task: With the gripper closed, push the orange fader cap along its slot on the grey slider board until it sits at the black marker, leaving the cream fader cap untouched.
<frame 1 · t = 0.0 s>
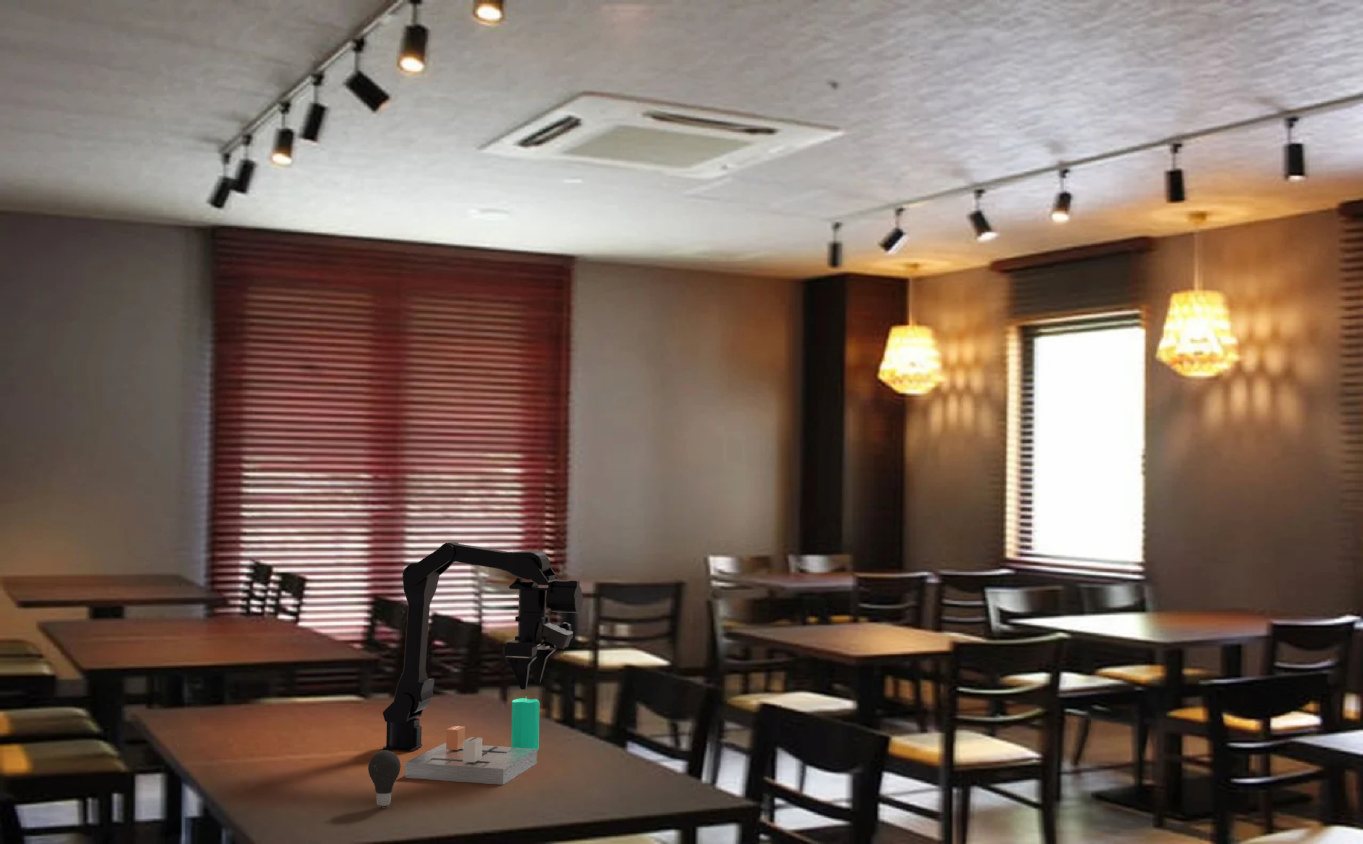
hand: (530, 686, 295), 15 cm above the table, fingers open, 9 cm apart
grey slider board: (472, 770, 280), on the table
candle: (524, 750, 302), on the table
light bulb: (383, 808, 249), on the table
fader orange: (455, 744, 286), point 4 cm above the table, slide at 0.0 cm
fader cream: (472, 756, 275), point 4 cm above the table, slide at 0.0 cm
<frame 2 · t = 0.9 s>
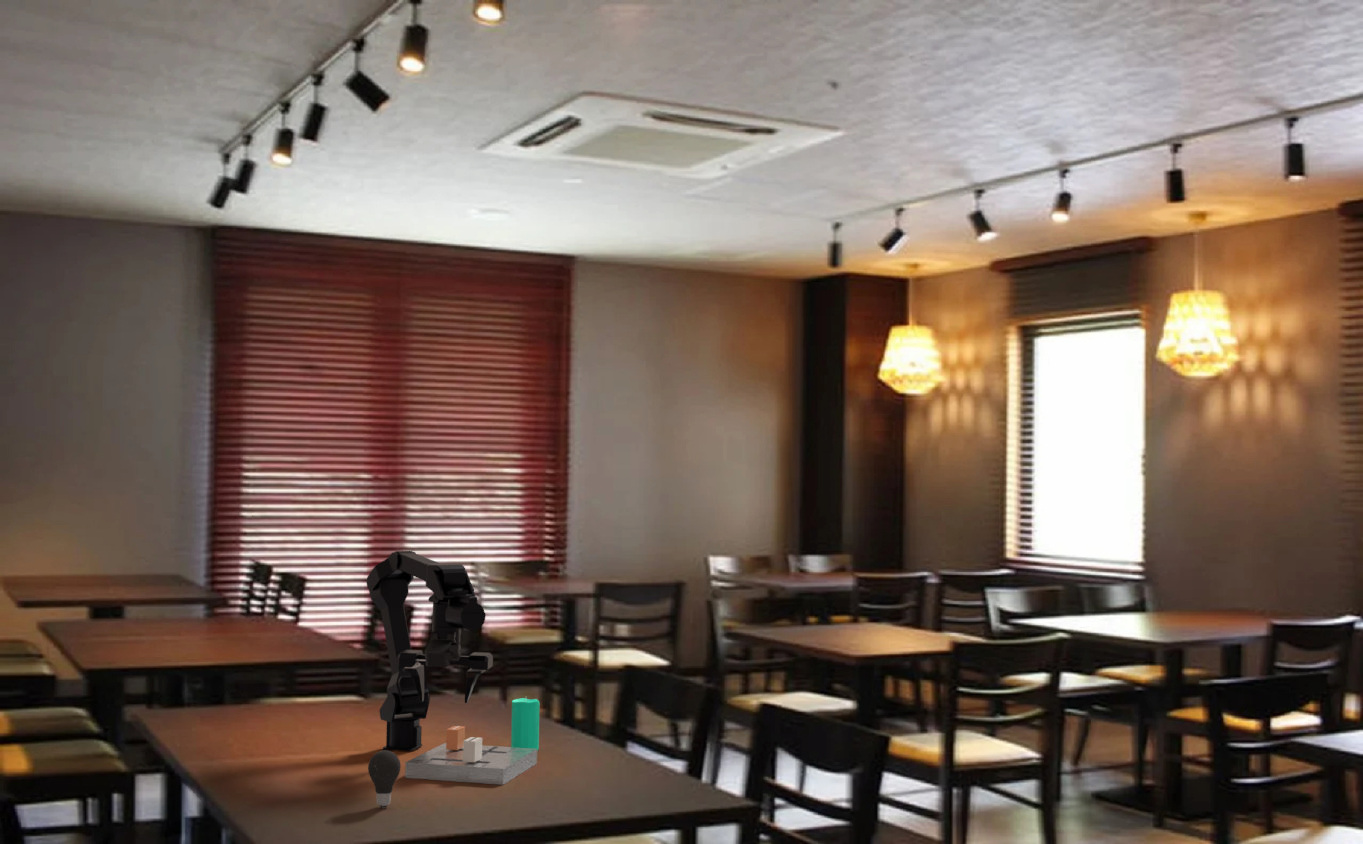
hand: (444, 702, 288), 12 cm above the table, fingers open, 9 cm apart
nothing on the table moved.
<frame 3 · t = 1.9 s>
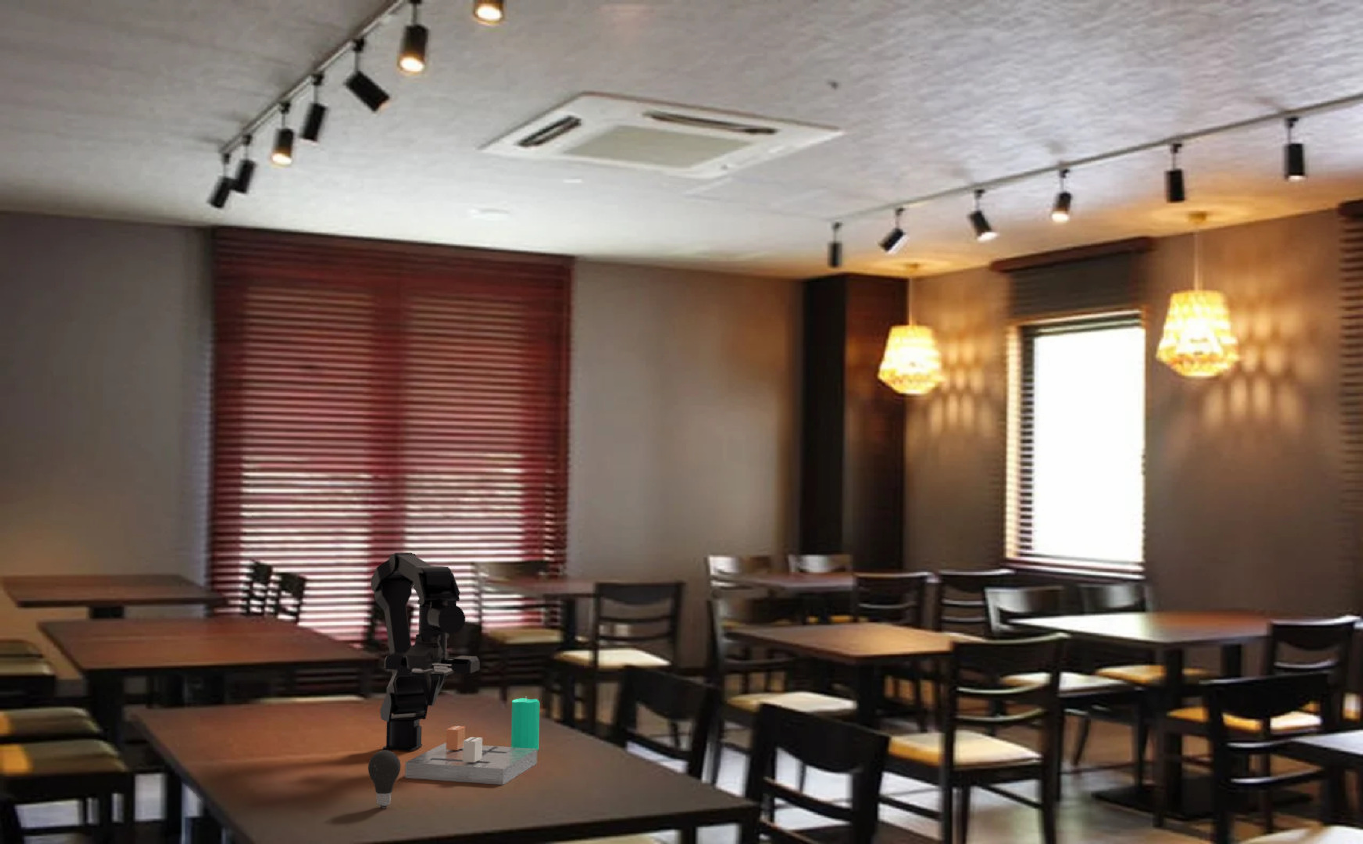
hand: (430, 705, 287), 12 cm above the table, fingers closed
nothing on the table moved.
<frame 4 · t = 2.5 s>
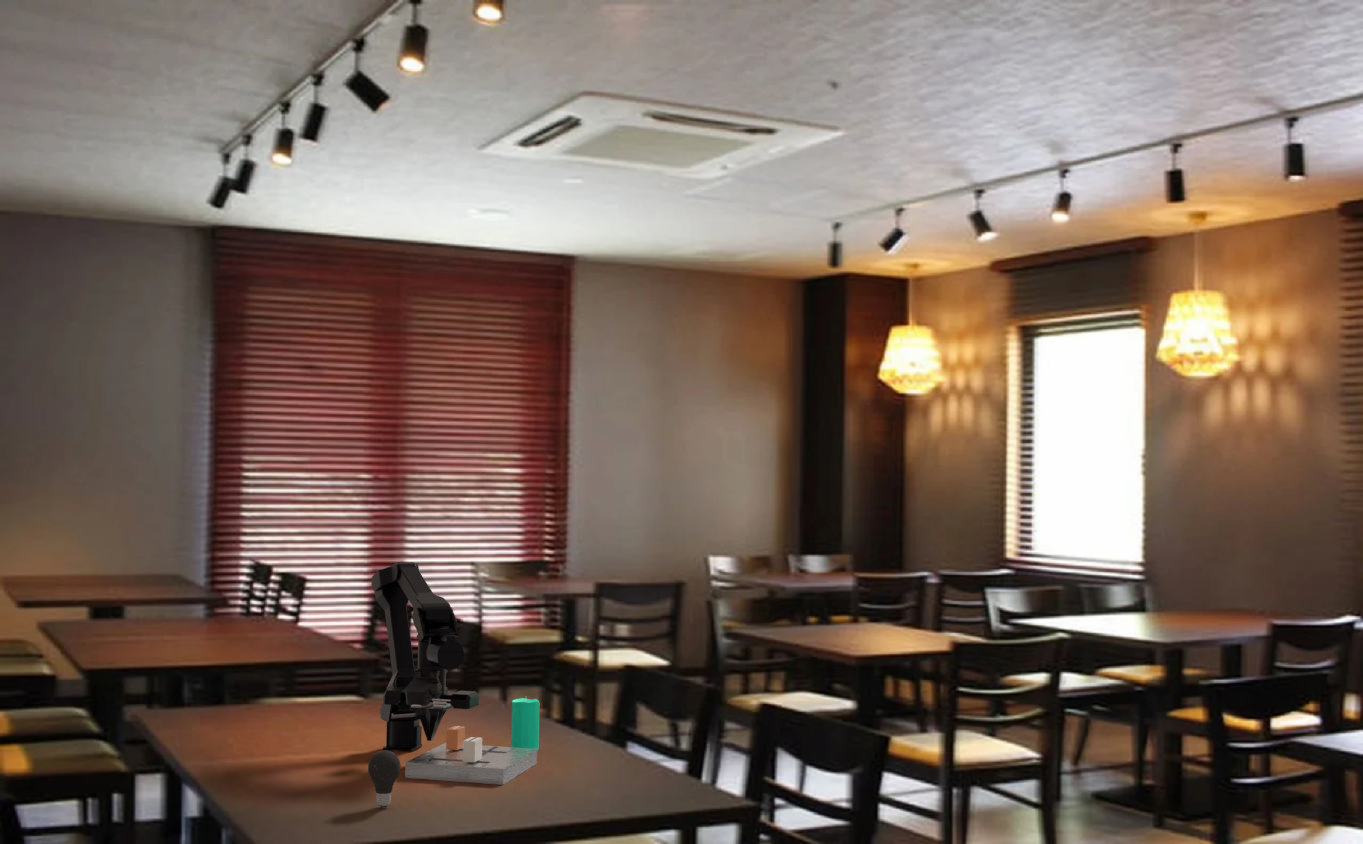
hand: (430, 740, 287), 4 cm above the table, fingers closed
nothing on the table moved.
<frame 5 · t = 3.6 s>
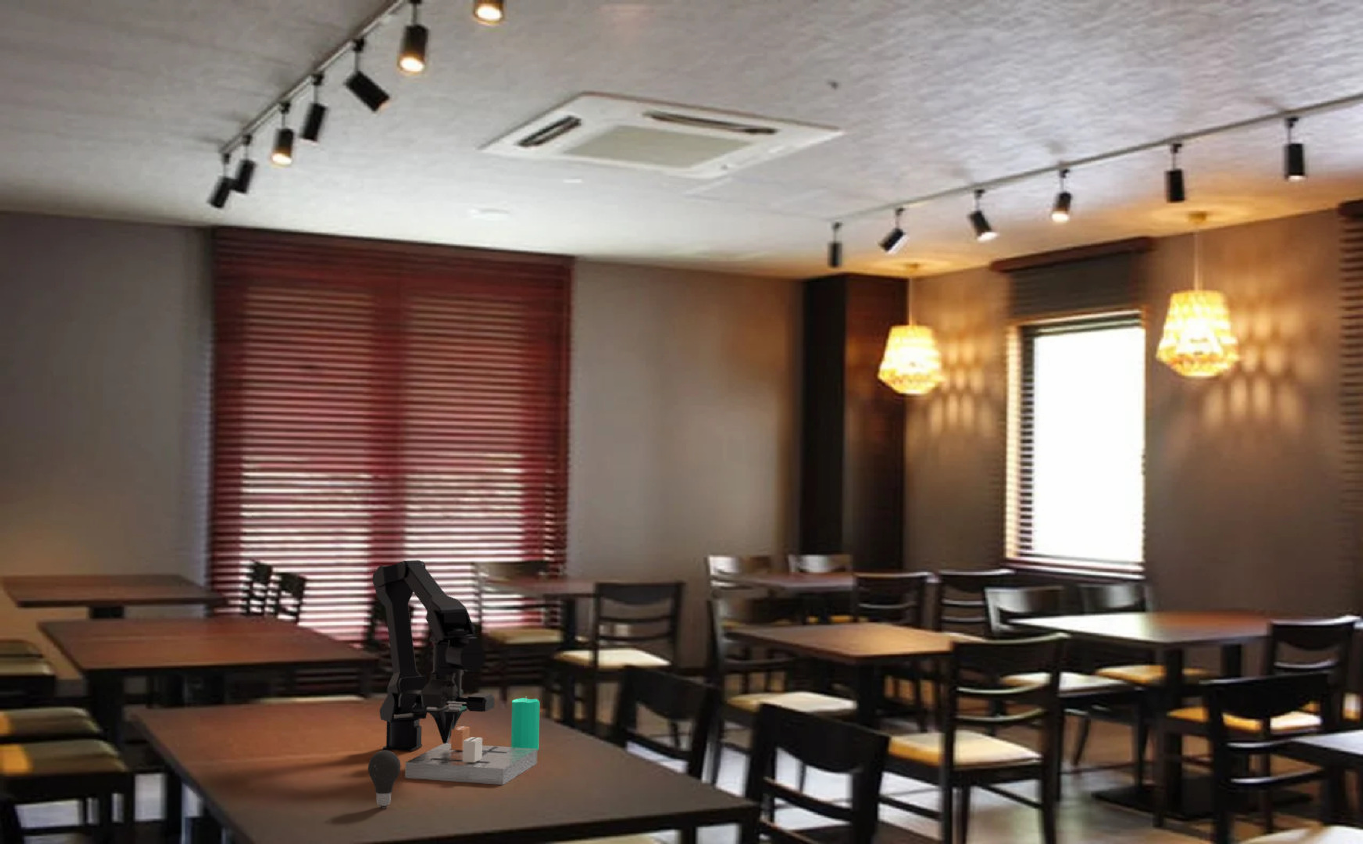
hand: (445, 743, 286), 4 cm above the table, fingers closed
fader orange: (460, 745, 286), point 4 cm above the table, slide at 1.0 cm, touching gripper
everything else where it was.
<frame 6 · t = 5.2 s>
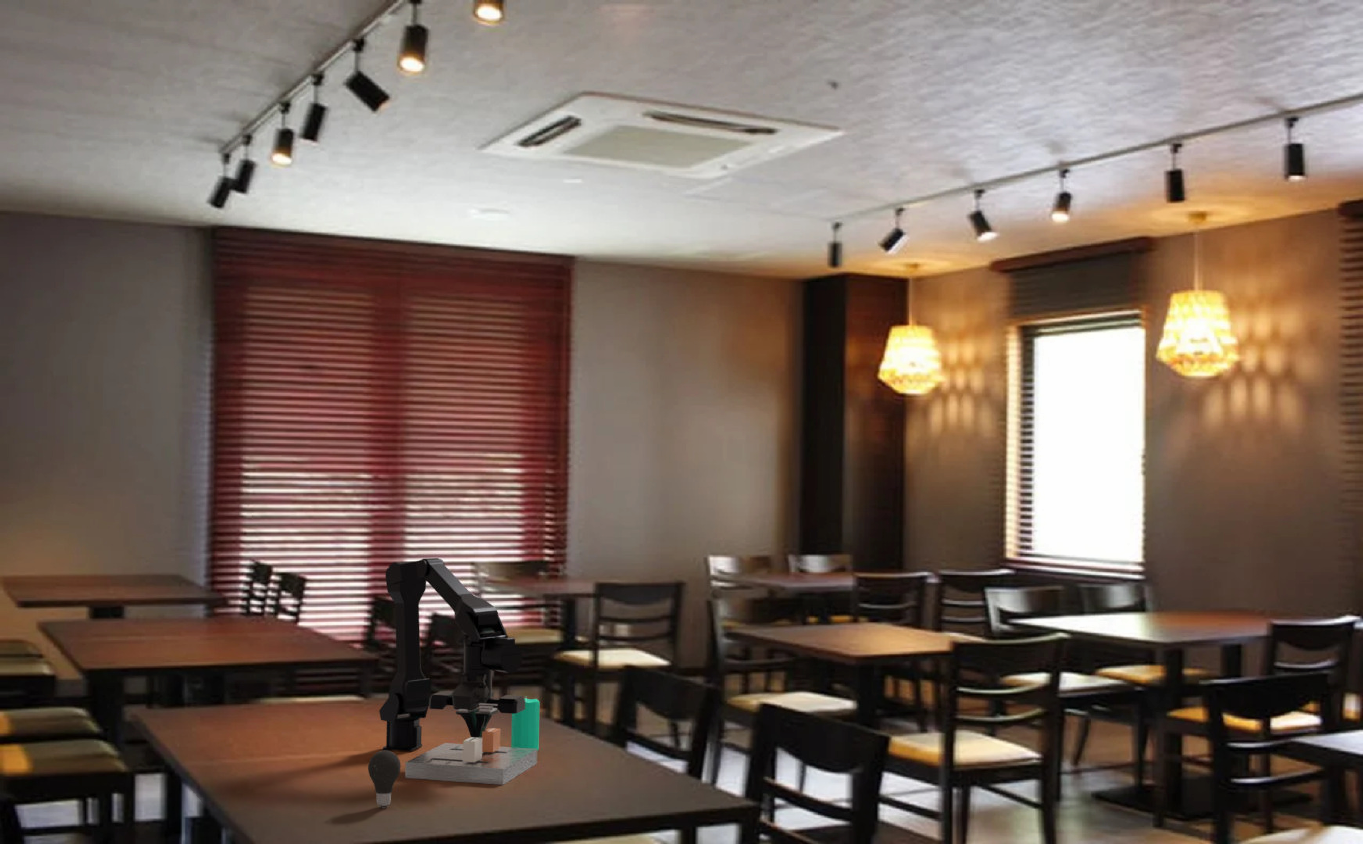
hand: (476, 745, 285), 4 cm above the table, fingers closed
fader orange: (491, 746, 284), point 4 cm above the table, slide at 7.6 cm, touching gripper
everything else where it was.
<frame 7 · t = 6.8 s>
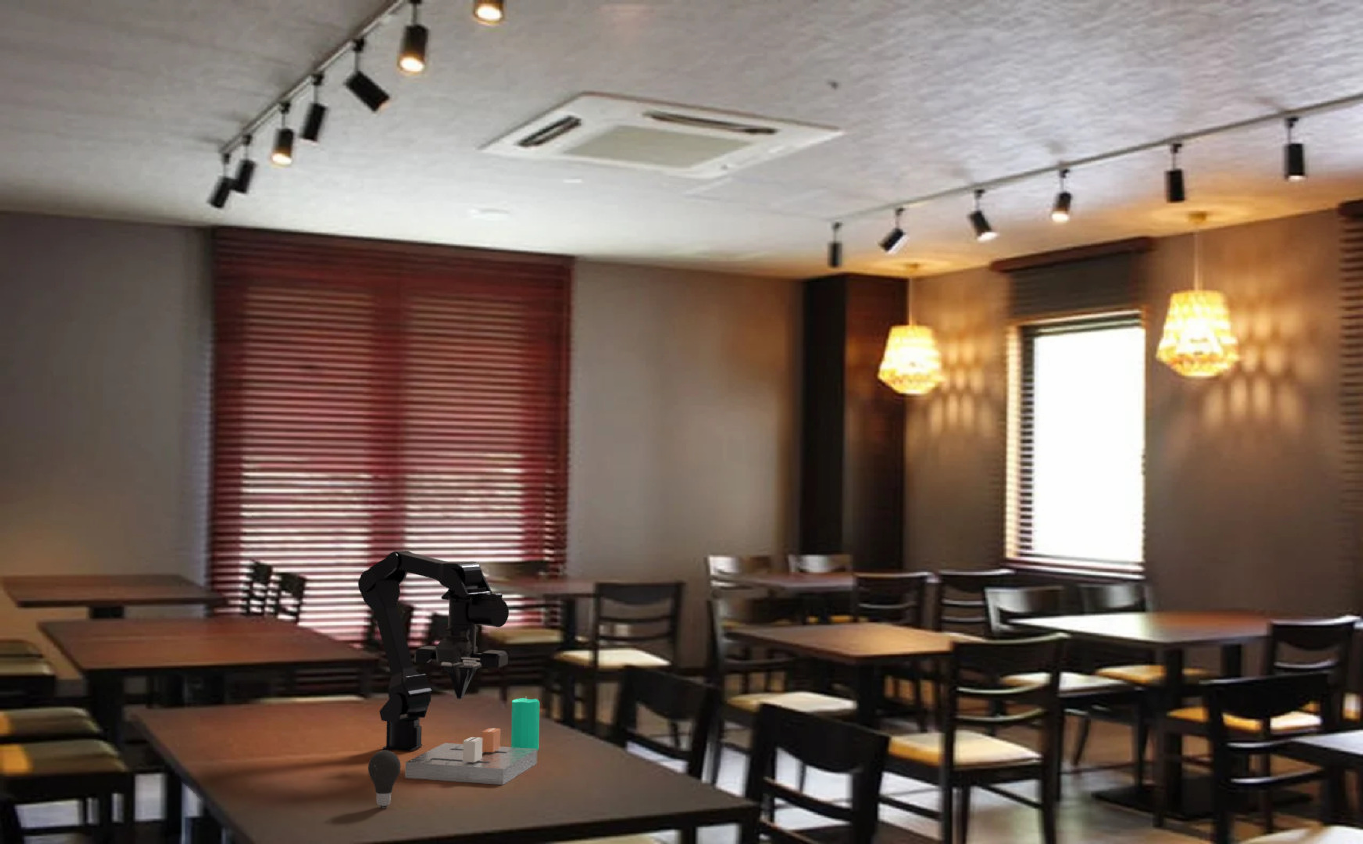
hand: (459, 698, 292), 12 cm above the table, fingers closed
fader orange: (491, 746, 284), point 4 cm above the table, slide at 7.6 cm
everything else where it was.
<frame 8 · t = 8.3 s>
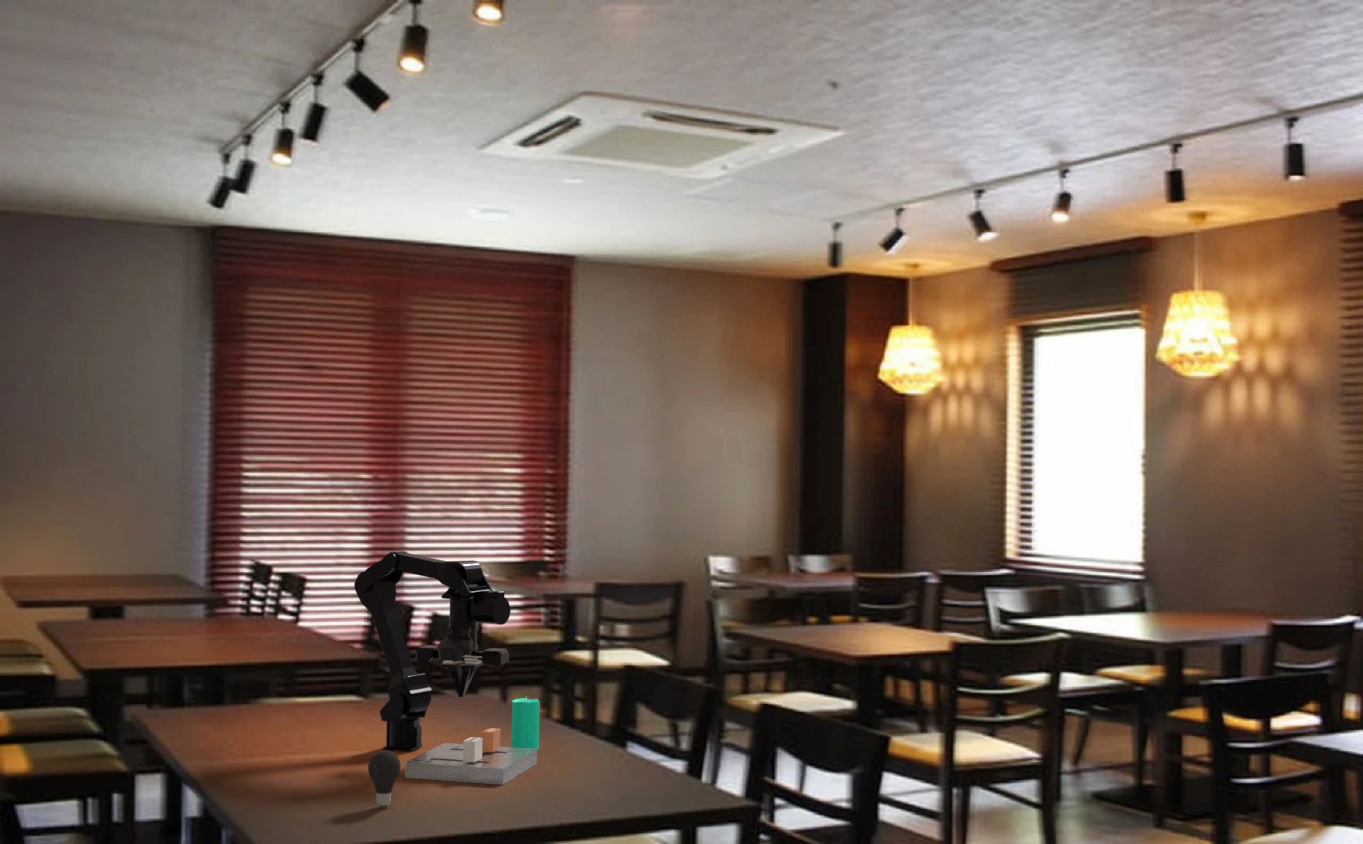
hand: (461, 696, 293), 13 cm above the table, fingers closed
nothing on the table moved.
at the end: fader orange slide at 7.6 cm; fader cream slide at 0.0 cm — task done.
